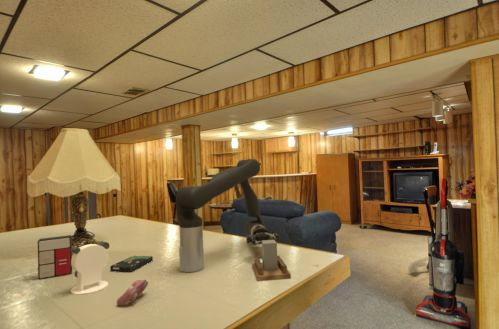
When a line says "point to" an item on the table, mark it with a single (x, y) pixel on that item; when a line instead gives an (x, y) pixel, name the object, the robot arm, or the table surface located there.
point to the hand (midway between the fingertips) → (265, 242)
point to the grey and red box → (54, 256)
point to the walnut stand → (270, 275)
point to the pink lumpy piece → (132, 292)
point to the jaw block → (269, 255)
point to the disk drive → (131, 264)
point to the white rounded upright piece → (89, 267)
